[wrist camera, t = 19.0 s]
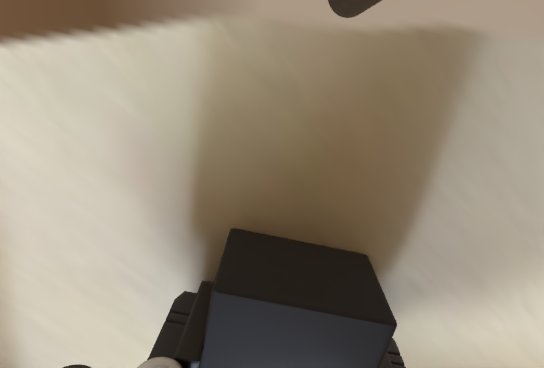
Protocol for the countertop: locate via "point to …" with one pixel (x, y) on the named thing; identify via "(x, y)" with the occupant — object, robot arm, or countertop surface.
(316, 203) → the countertop surface
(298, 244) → the dark gray block
